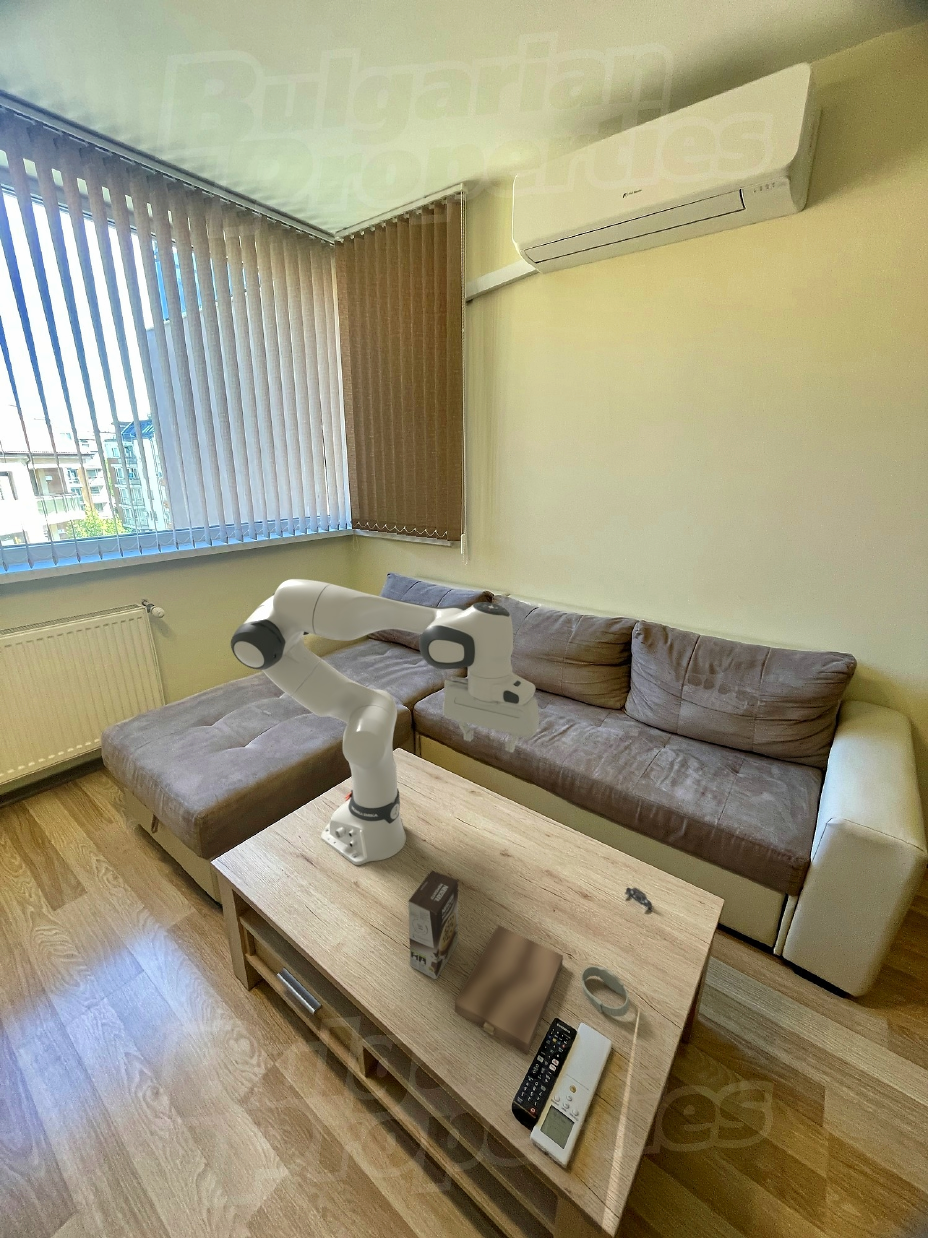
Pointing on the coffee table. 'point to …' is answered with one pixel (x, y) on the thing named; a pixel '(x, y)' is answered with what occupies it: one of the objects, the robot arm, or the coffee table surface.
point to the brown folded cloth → (510, 988)
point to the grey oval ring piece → (610, 981)
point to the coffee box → (433, 923)
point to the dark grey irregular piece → (639, 897)
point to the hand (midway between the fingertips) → (488, 744)
